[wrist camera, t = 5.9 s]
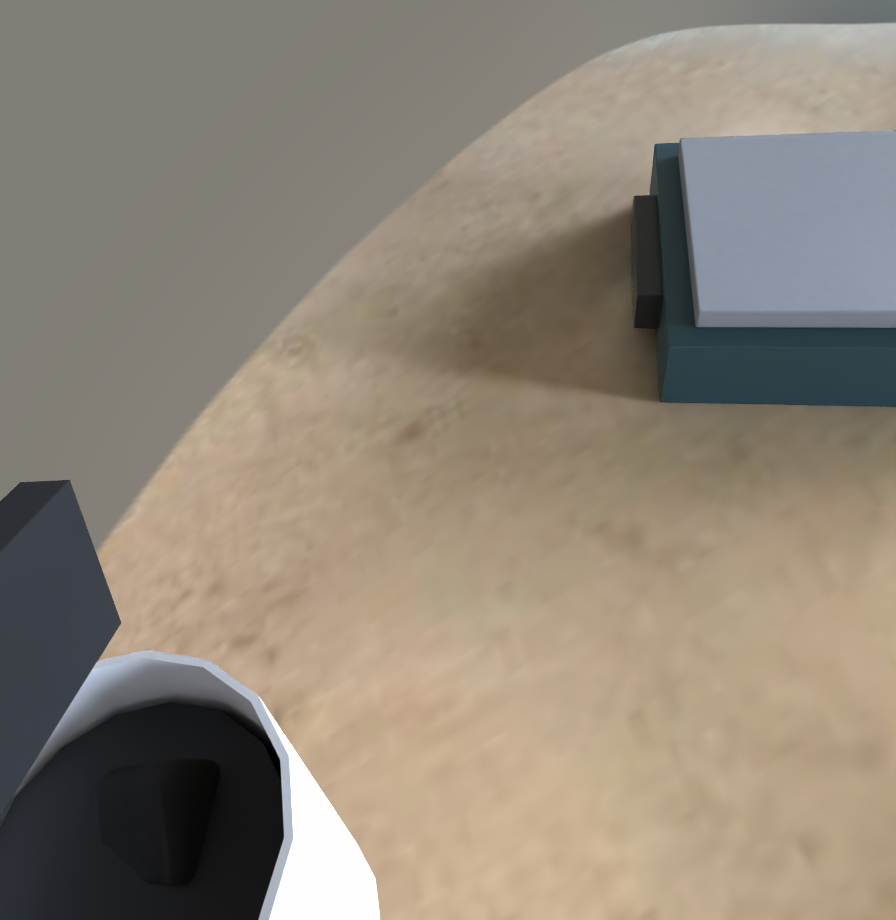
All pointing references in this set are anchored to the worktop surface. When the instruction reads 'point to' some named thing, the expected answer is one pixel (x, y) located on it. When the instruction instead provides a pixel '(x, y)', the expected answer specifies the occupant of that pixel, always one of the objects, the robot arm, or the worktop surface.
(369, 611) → the worktop surface
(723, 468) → the worktop surface
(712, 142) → the scale
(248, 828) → the white coffee cup
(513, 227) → the worktop surface
